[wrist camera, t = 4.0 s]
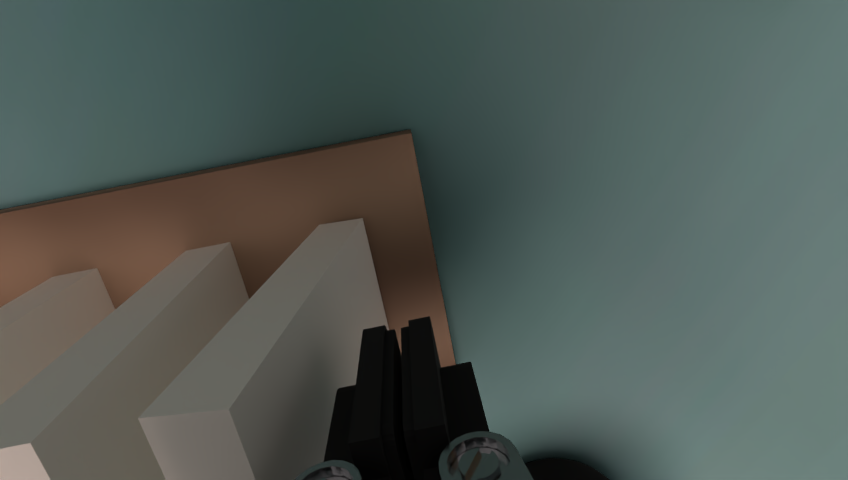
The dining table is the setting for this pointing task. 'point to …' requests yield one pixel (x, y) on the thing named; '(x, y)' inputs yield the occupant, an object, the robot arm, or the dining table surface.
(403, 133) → the brown flat slab
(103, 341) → the tile
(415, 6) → the dining table surface
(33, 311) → the tile
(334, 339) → the tile
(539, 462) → the mug
